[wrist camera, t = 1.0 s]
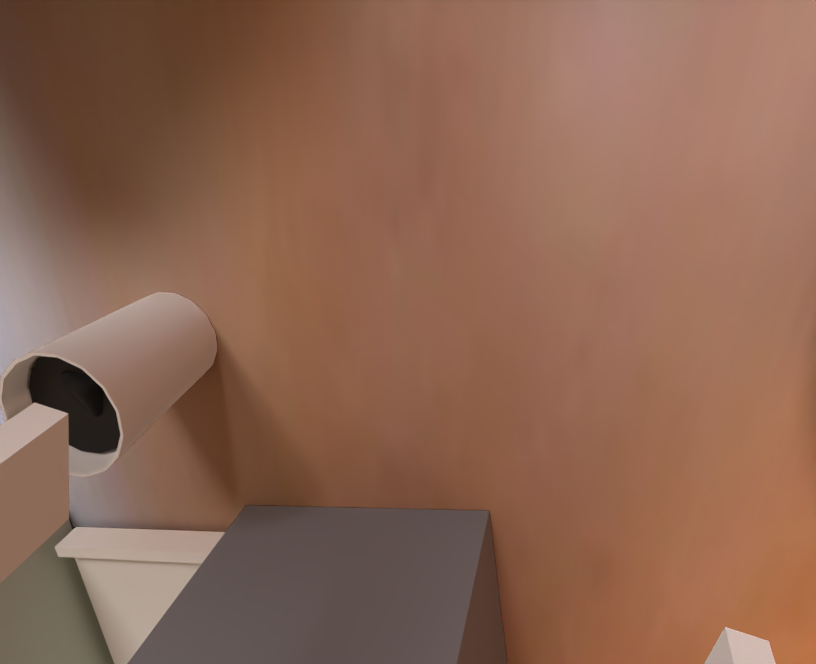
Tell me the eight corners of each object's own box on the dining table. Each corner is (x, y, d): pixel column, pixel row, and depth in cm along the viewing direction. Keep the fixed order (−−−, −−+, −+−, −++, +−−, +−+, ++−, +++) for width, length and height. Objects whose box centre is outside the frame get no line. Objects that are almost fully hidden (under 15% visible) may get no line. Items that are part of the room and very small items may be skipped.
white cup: (123, 272, 41) (-7, 335, 32) (228, 300, 40) (124, 373, 31) (123, 371, 44) (3, 455, 35) (220, 399, 43) (123, 493, 34)
